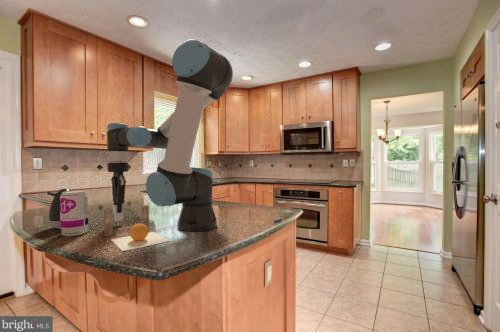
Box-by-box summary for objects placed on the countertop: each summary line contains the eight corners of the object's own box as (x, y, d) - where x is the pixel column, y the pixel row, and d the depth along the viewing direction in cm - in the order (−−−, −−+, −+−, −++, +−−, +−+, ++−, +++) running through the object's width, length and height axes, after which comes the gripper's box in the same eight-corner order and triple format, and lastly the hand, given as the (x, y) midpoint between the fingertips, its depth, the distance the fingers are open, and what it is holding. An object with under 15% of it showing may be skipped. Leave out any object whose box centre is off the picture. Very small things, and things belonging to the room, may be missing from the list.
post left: (113, 235, 88) (113, 209, 88) (105, 236, 86) (104, 210, 86) (111, 233, 90) (111, 208, 90) (103, 234, 88) (103, 209, 88)
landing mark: (169, 241, 81) (169, 240, 81) (122, 251, 72) (122, 250, 72) (153, 232, 91) (153, 231, 91) (110, 240, 82) (110, 239, 82)
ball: (149, 220, 83) (144, 225, 86) (131, 222, 79) (126, 227, 83) (151, 236, 81) (146, 241, 84) (133, 240, 77) (129, 244, 81)
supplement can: (74, 237, 85) (73, 193, 85) (54, 236, 87) (53, 192, 87) (93, 231, 93) (93, 190, 93) (75, 229, 95) (74, 190, 95)
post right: (150, 228, 96) (149, 205, 96) (143, 230, 94) (142, 206, 94) (147, 227, 98) (147, 204, 98) (140, 228, 96) (140, 205, 96)
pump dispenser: (46, 227, 99) (45, 188, 99) (78, 222, 106) (77, 186, 106) (48, 232, 91) (48, 190, 91) (82, 227, 98) (82, 188, 98)
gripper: (104, 162, 104) (104, 219, 105) (111, 162, 94) (112, 224, 95) (123, 162, 109) (124, 216, 109) (132, 162, 99) (133, 221, 100)
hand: (118, 220), depth 102 cm, fingers closed
